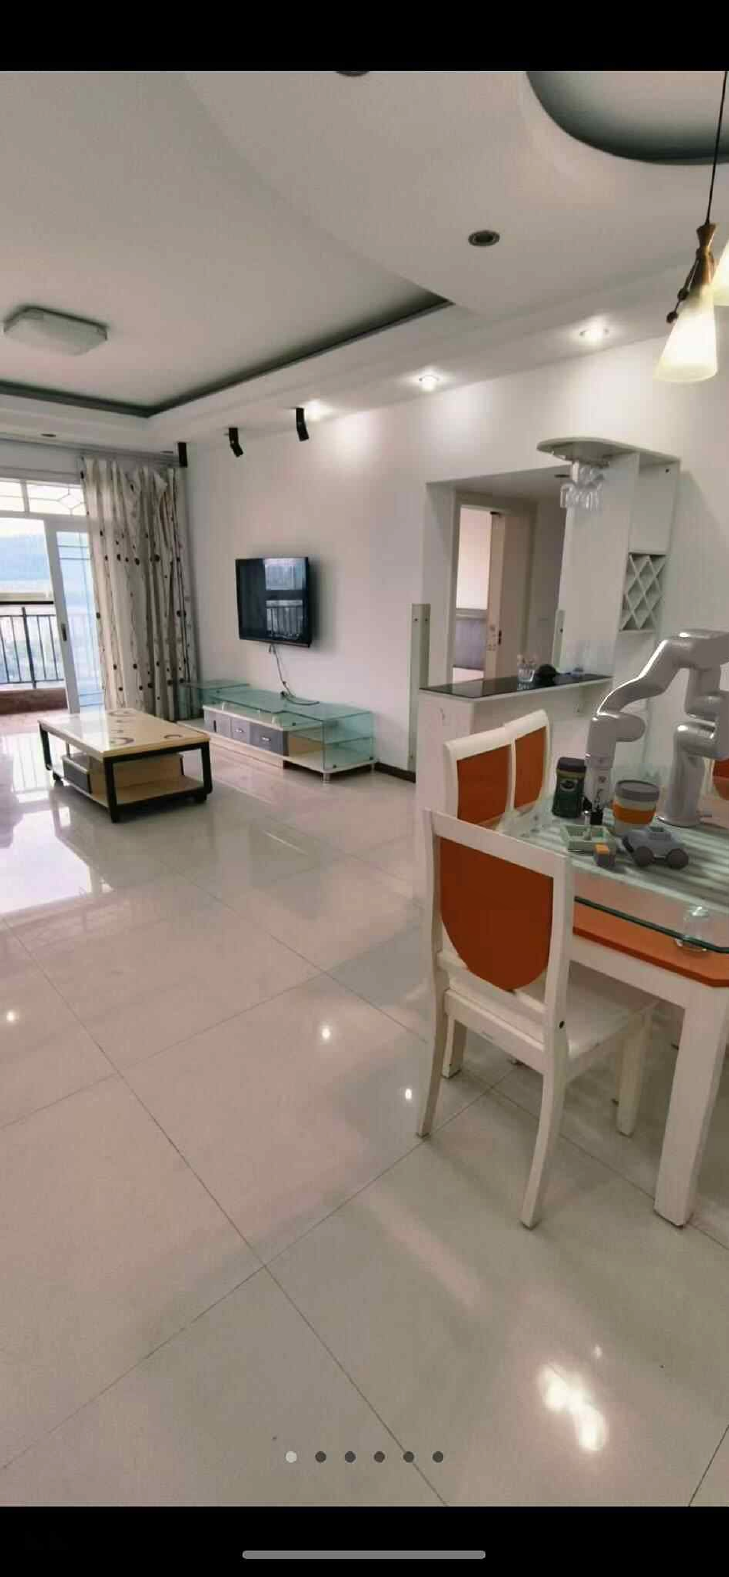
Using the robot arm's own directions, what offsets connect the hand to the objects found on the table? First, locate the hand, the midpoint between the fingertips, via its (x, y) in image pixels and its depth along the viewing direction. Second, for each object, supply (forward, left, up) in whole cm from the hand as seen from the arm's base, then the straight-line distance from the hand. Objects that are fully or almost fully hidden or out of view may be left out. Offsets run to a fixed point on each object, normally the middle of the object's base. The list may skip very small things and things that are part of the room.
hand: (591, 818), depth 188 cm
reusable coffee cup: (-15, -10, -8) cm, 19 cm away
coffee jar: (+1, -24, -8) cm, 25 cm away
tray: (0, 0, -8) cm, 8 cm away
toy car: (-16, +8, -8) cm, 19 cm away
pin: (0, 0, -7) cm, 7 cm away
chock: (-1, +14, -8) cm, 16 cm away
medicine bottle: (-12, -40, -8) cm, 42 cm away
